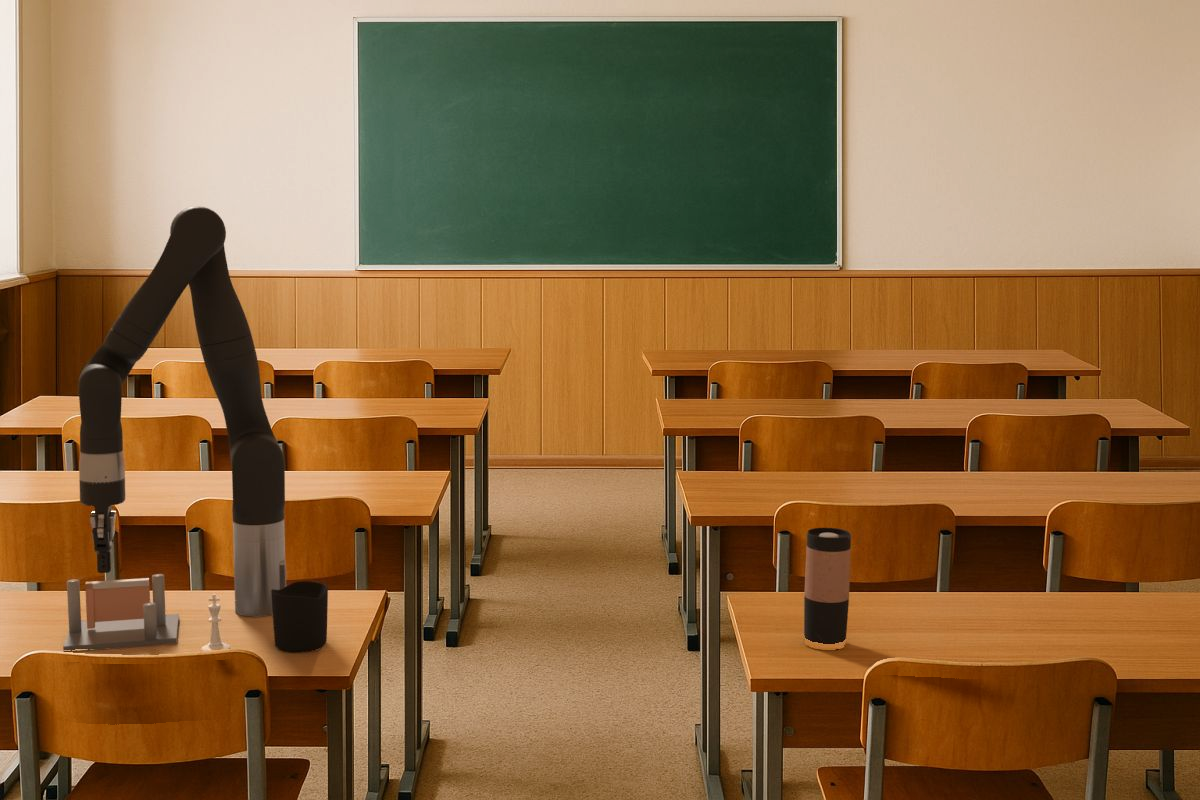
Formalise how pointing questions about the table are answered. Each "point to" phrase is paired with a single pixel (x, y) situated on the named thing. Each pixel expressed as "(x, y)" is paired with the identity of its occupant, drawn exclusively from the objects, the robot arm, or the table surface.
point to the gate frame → (122, 624)
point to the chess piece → (215, 628)
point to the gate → (116, 600)
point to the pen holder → (300, 616)
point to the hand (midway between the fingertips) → (104, 571)
